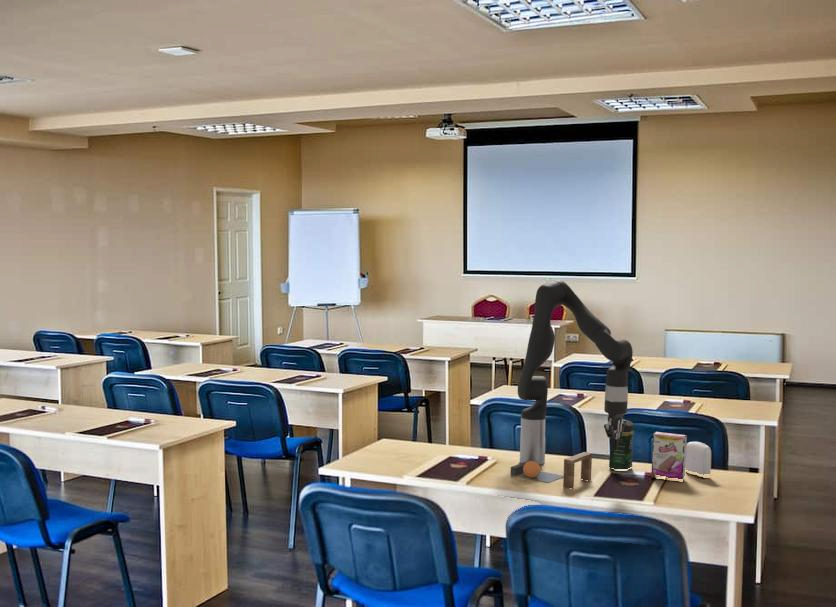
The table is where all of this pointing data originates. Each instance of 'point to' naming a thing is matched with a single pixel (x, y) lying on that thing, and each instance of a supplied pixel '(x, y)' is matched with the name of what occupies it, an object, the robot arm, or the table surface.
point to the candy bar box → (669, 455)
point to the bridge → (569, 468)
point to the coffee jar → (623, 449)
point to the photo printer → (698, 458)
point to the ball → (531, 469)
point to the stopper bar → (517, 469)
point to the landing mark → (544, 477)
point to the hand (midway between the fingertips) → (614, 449)
